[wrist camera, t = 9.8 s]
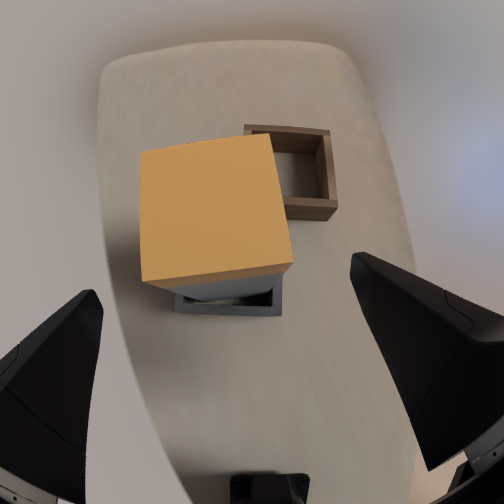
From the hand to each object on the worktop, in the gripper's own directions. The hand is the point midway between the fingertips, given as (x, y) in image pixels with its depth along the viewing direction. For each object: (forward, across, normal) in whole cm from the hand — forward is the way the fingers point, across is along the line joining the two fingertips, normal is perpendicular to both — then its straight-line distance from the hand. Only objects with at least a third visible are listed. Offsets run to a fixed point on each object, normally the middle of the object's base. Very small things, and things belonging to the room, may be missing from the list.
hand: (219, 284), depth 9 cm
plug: (+10, 0, +6) cm, 12 cm away
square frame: (+15, -5, +2) cm, 16 cm away
